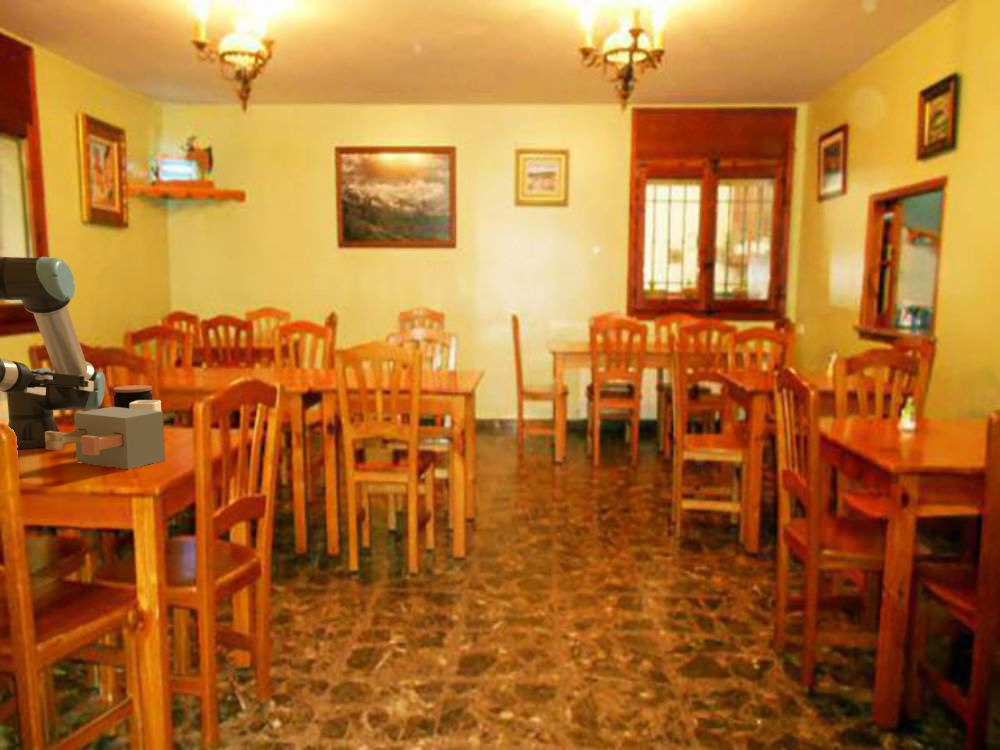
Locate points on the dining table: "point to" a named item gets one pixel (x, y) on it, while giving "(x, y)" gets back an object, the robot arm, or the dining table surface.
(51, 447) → the pale plunger
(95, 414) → the wall block
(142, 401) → the cup
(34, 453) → the dining table surface
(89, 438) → the terracotta plunger
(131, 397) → the coffee jar
